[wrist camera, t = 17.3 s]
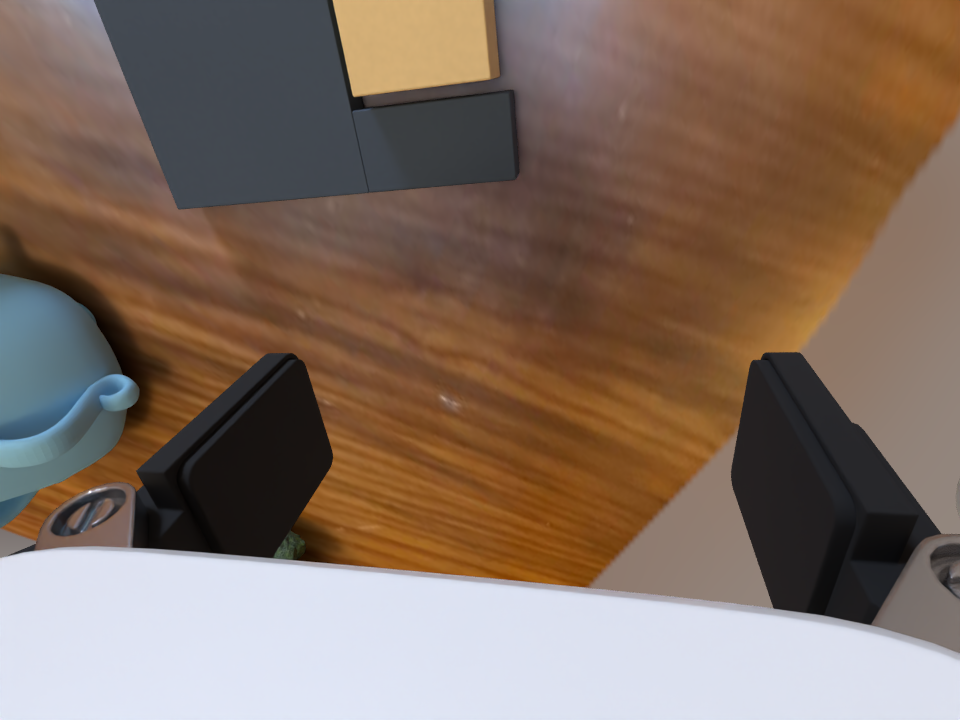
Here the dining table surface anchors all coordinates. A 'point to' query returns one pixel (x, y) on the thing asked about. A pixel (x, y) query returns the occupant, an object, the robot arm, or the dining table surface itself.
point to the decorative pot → (53, 391)
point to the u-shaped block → (288, 107)
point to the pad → (416, 43)
